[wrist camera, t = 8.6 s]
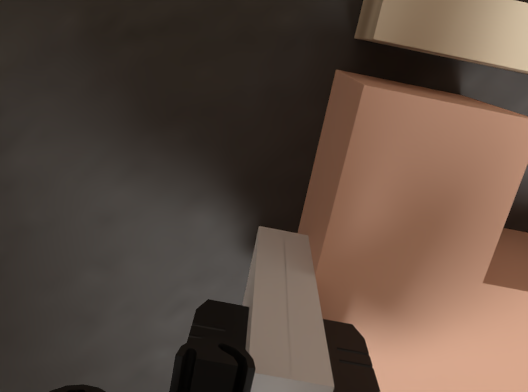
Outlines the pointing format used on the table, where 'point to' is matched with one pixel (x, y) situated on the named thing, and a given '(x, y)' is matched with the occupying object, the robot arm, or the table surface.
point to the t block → (422, 234)
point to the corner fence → (451, 29)
